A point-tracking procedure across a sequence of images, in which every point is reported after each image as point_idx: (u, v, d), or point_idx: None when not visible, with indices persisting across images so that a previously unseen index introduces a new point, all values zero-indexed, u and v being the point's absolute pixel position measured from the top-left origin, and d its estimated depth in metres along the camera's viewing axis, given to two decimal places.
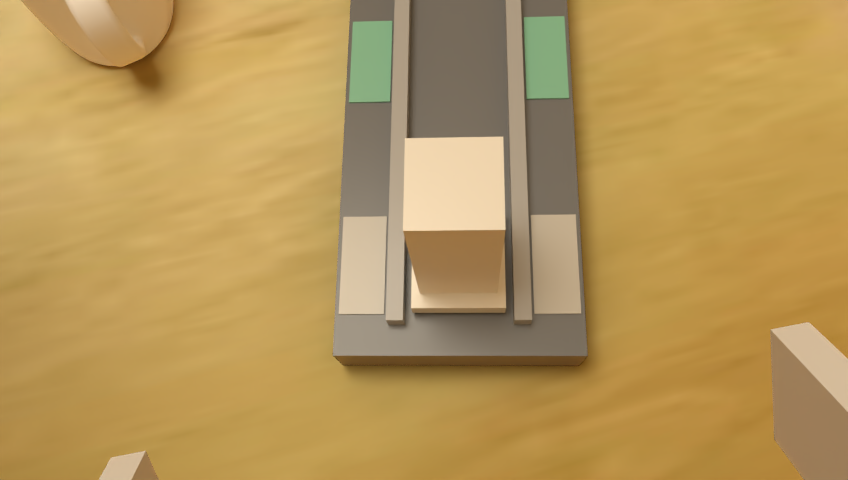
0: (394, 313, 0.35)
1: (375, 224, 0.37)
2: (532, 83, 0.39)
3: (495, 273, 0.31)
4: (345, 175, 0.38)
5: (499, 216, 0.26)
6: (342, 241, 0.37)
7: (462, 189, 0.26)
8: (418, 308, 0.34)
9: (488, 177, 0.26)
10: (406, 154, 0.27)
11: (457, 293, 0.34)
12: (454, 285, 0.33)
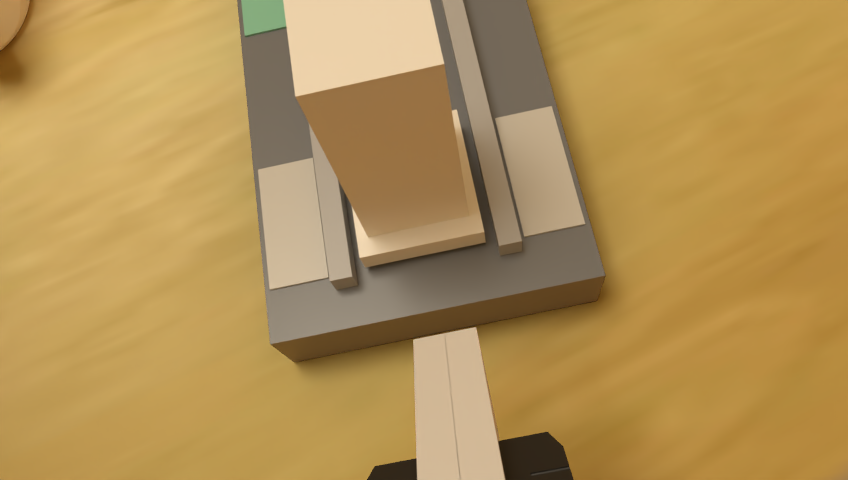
0: (339, 270, 0.26)
1: (300, 170, 0.29)
2: None
3: (457, 173, 0.23)
4: (253, 120, 0.30)
5: (431, 48, 0.17)
6: (261, 199, 0.28)
7: (372, 24, 0.18)
8: (369, 256, 0.26)
9: (407, 1, 0.18)
10: None
11: (417, 226, 0.26)
12: (407, 211, 0.24)
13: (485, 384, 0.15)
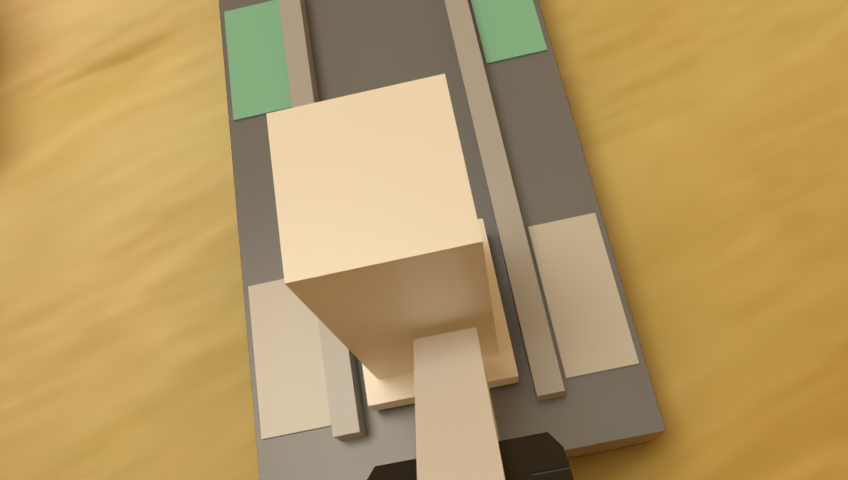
0: (344, 423, 0.21)
1: None
2: (490, 40, 0.27)
3: (489, 326, 0.18)
4: (243, 224, 0.25)
5: (464, 218, 0.13)
6: (251, 323, 0.24)
7: (386, 182, 0.14)
8: (380, 403, 0.21)
9: (432, 150, 0.14)
10: (272, 141, 0.14)
11: None
12: None
13: (485, 384, 0.15)
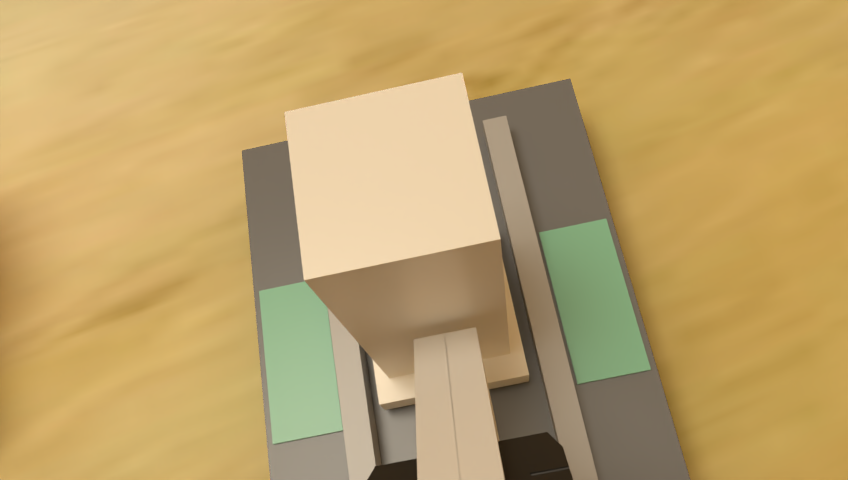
0: None
1: None
2: (580, 351, 0.22)
3: (501, 324, 0.18)
4: None
5: (482, 215, 0.13)
6: None
7: (404, 179, 0.14)
8: (391, 402, 0.21)
9: (449, 148, 0.14)
10: (291, 139, 0.14)
11: None
12: None
13: (485, 384, 0.15)
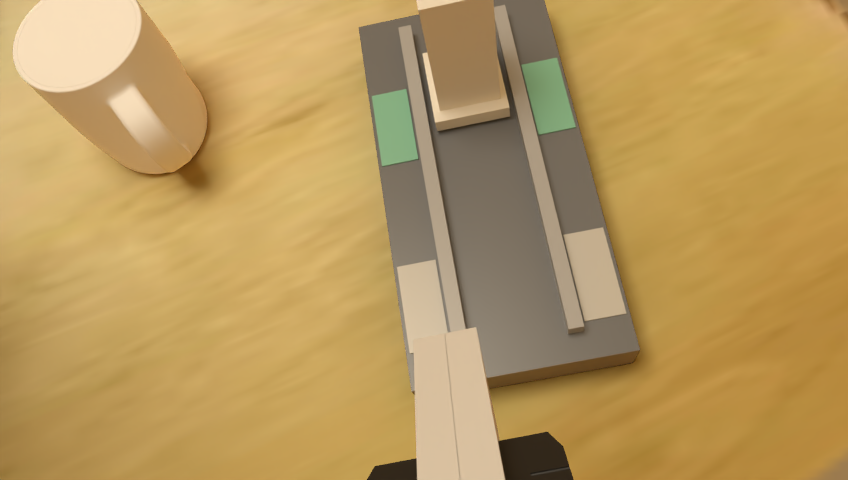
0: None
1: (426, 268, 0.41)
2: (541, 120, 0.44)
3: (495, 65, 0.40)
4: (391, 230, 0.42)
5: None
6: (400, 288, 0.41)
7: None
8: (441, 122, 0.43)
9: None
10: None
11: (469, 105, 0.43)
12: (465, 92, 0.42)
13: (485, 384, 0.15)
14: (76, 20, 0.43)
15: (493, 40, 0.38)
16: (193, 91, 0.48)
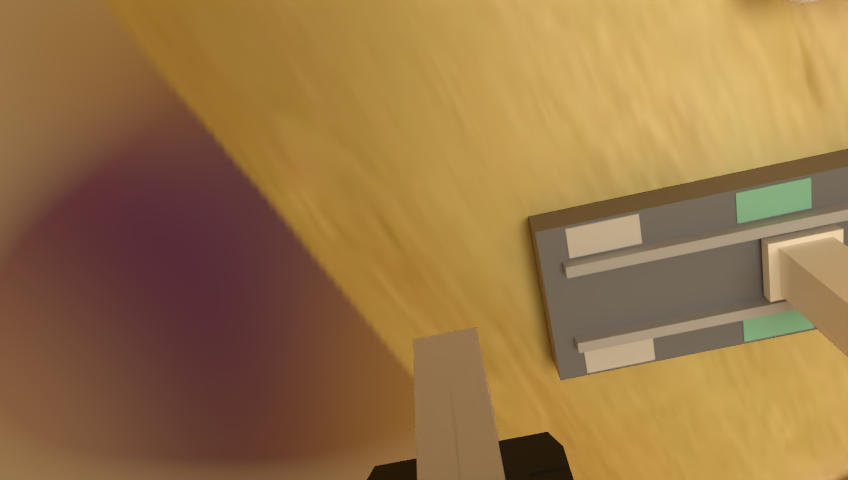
0: (571, 272, 0.50)
1: (635, 236, 0.50)
2: None
3: (805, 315, 0.48)
4: (672, 205, 0.49)
5: None
6: (619, 217, 0.50)
7: None
8: (767, 248, 0.50)
9: None
10: None
11: (779, 271, 0.50)
12: (789, 278, 0.49)
13: (485, 384, 0.15)
14: None
15: (823, 332, 0.46)
16: None
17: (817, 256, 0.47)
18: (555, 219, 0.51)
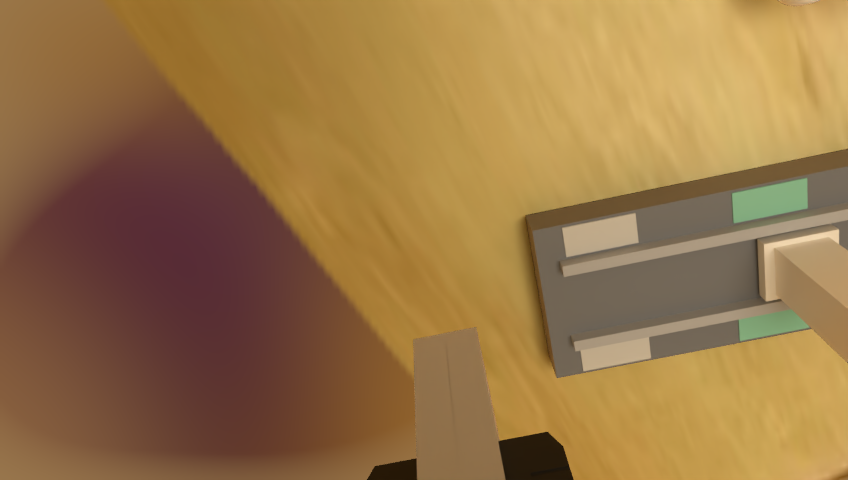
0: (567, 271, 0.50)
1: (631, 235, 0.50)
2: None
3: (799, 315, 0.48)
4: (669, 205, 0.50)
5: None
6: (616, 217, 0.50)
7: None
8: (763, 248, 0.50)
9: None
10: None
11: (775, 271, 0.50)
12: (784, 277, 0.49)
13: (485, 384, 0.15)
14: None
15: (817, 332, 0.46)
16: None
17: (812, 256, 0.47)
18: (552, 218, 0.51)
